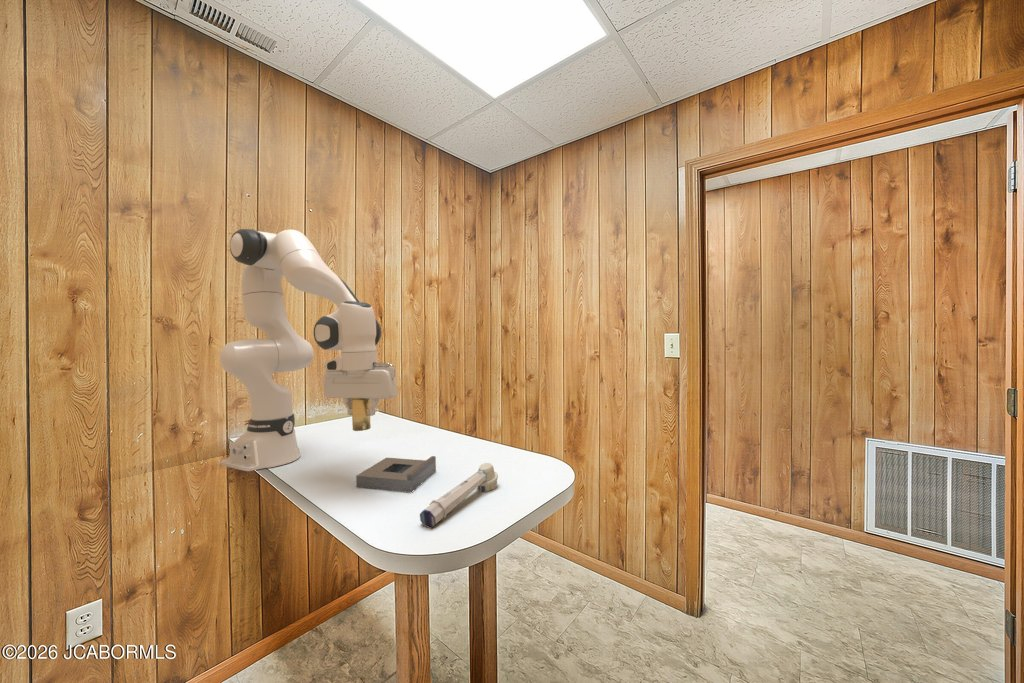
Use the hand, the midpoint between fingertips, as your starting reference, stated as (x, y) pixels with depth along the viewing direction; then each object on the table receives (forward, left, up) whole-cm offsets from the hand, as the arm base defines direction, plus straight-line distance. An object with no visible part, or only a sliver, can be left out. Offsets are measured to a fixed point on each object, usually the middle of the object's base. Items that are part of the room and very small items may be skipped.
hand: (361, 415), depth 97 cm
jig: (+7, +6, -19) cm, 21 cm away
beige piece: (+30, -4, -19) cm, 36 cm away
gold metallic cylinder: (0, 0, -4) cm, 4 cm away
